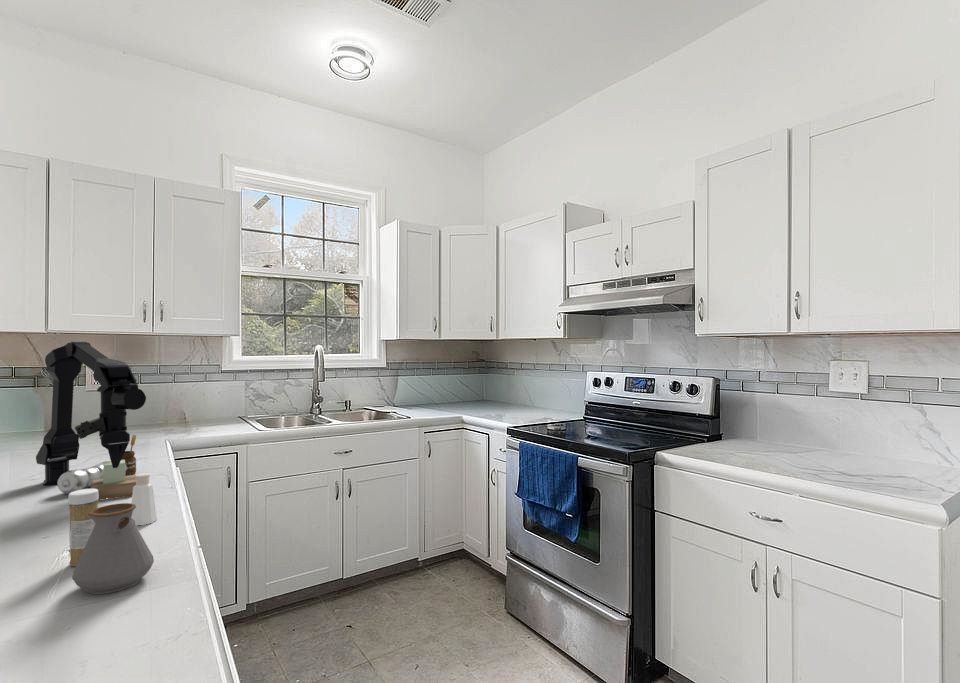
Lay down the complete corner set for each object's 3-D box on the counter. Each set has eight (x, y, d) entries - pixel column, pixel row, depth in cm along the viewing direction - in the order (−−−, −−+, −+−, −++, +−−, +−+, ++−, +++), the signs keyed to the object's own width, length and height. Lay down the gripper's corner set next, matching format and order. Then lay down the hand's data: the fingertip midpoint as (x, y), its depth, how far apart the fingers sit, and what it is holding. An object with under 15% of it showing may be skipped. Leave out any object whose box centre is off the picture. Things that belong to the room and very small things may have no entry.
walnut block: (93, 494, 148) (93, 479, 148) (136, 488, 153) (136, 474, 153) (90, 503, 140) (90, 487, 140) (136, 496, 145) (136, 482, 145)
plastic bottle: (74, 471, 145) (130, 456, 165) (52, 473, 145) (110, 457, 165) (76, 495, 145) (132, 477, 164) (53, 496, 145) (111, 478, 165)
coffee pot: (70, 582, 92) (68, 495, 92) (148, 563, 99) (146, 483, 99) (79, 633, 75) (78, 527, 75) (171, 606, 83) (170, 509, 83)
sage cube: (124, 477, 150) (124, 459, 150) (125, 481, 146) (125, 462, 146) (103, 480, 147) (102, 462, 147) (103, 484, 143) (103, 465, 143)
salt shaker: (162, 519, 124) (161, 472, 124) (141, 527, 119) (140, 478, 119) (145, 517, 126) (144, 470, 126) (123, 524, 121) (122, 476, 121)
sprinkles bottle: (79, 558, 102) (78, 488, 102) (104, 557, 103) (103, 487, 103) (63, 568, 98) (62, 495, 98) (89, 567, 98) (88, 494, 98)
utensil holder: (109, 475, 167) (108, 437, 167) (129, 471, 173) (128, 434, 173) (121, 477, 165) (121, 438, 165) (141, 472, 171) (141, 435, 171)
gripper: (76, 407, 149) (77, 463, 149) (76, 414, 134) (77, 476, 134) (124, 404, 156) (125, 457, 156) (129, 410, 141) (130, 469, 141)
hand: (114, 464), depth 147 cm, fingers open, 9 cm apart
